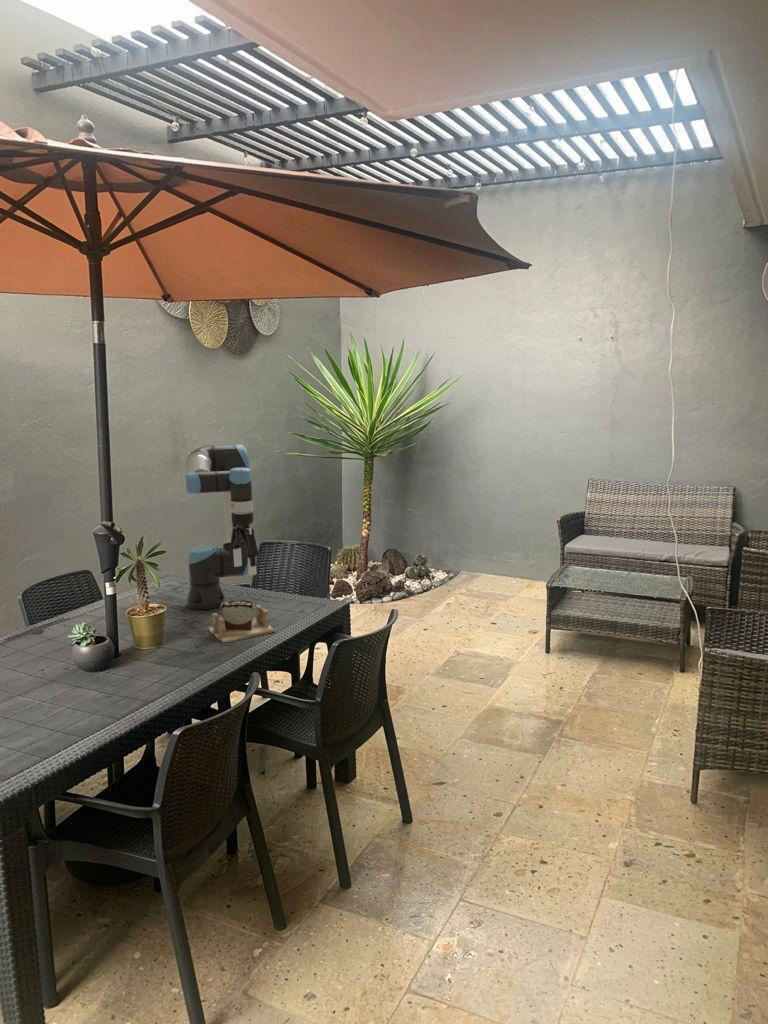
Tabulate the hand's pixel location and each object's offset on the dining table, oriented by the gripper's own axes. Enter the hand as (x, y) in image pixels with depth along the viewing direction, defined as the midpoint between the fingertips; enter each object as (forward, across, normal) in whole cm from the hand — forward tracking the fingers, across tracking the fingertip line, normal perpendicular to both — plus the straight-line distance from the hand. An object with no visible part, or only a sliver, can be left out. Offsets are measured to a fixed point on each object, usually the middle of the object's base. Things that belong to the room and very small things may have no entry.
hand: (245, 570), depth 261 cm
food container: (+20, +2, -4) cm, 21 cm away
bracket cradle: (+21, +3, -4) cm, 22 cm away
